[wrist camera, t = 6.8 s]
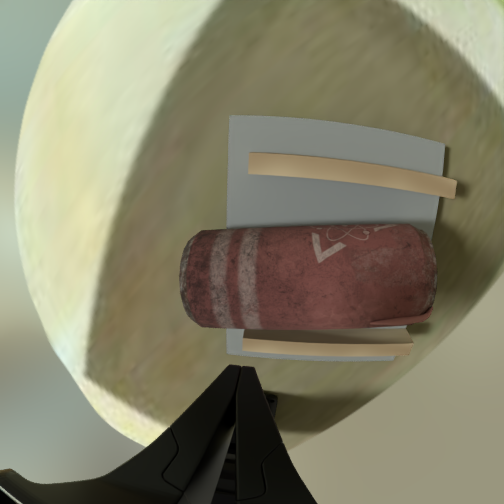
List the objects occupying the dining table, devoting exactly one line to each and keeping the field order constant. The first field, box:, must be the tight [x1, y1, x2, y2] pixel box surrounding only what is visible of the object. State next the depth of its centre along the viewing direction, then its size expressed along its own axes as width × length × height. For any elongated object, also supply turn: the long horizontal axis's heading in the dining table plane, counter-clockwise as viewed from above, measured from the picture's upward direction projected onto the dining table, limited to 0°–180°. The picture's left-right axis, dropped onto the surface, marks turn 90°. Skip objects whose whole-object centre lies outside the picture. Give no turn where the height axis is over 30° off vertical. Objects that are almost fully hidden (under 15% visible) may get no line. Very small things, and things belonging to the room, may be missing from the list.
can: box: [179, 224, 437, 330], centre depth 16 cm, size 6×6×14 cm
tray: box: [227, 115, 457, 361], centre depth 18 cm, size 18×14×3 cm
